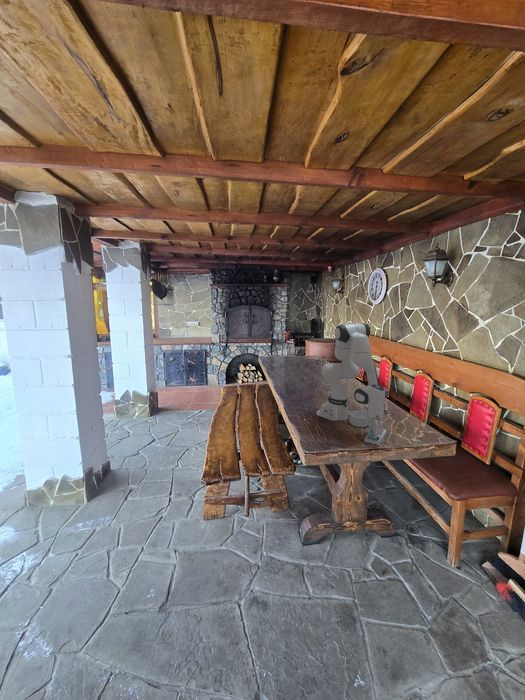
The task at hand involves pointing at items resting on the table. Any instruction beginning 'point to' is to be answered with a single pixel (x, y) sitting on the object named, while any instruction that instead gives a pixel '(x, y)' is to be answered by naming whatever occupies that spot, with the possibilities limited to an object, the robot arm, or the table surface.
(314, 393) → the table surface
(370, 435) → the teal plug
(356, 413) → the ramekin
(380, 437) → the socket panel
